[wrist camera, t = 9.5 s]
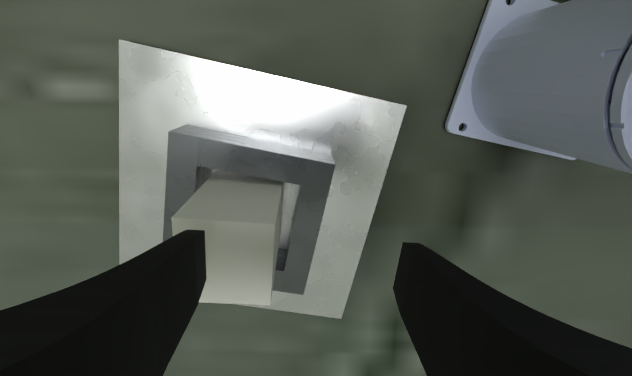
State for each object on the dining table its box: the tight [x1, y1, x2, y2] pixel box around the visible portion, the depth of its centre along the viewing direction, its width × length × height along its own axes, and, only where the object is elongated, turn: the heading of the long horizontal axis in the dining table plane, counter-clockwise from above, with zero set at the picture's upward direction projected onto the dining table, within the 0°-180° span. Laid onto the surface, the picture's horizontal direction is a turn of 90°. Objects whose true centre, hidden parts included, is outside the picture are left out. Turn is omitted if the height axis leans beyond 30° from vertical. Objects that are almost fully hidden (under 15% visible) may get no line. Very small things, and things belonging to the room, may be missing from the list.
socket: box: [119, 40, 407, 319], centre depth 18 cm, size 16×16×4 cm
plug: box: [171, 170, 284, 305], centre depth 16 cm, size 4×4×7 cm
